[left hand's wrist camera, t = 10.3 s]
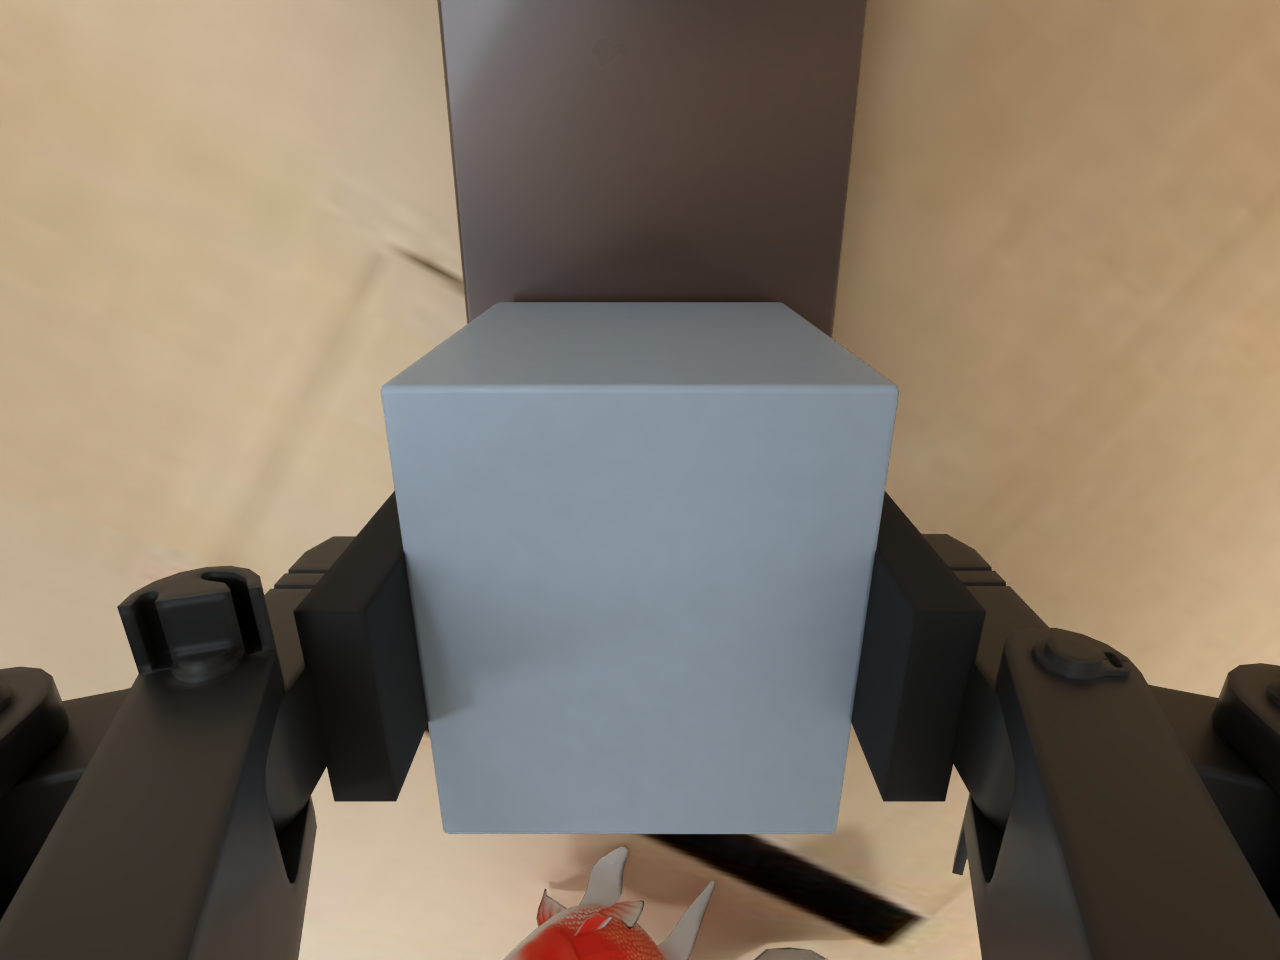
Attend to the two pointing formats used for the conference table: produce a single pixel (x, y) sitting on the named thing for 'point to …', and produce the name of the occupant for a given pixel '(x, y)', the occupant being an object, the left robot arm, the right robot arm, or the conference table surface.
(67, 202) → the conference table surface
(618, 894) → the fish
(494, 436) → the cap block
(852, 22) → the walnut base
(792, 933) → the conference table surface
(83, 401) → the conference table surface
